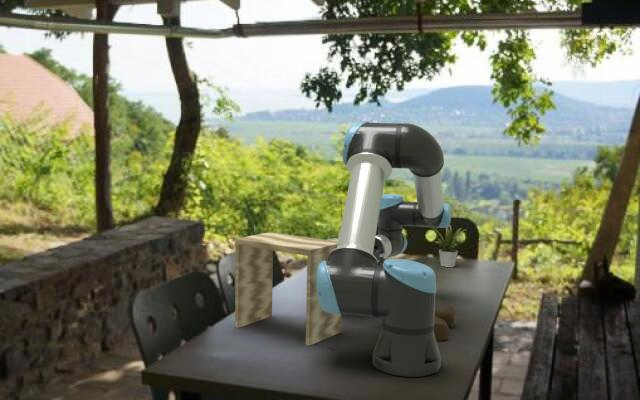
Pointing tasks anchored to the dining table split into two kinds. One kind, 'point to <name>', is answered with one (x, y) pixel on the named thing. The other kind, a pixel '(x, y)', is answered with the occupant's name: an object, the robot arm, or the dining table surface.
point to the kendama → (443, 322)
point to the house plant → (448, 248)
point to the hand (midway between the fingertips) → (332, 261)
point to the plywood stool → (258, 277)
